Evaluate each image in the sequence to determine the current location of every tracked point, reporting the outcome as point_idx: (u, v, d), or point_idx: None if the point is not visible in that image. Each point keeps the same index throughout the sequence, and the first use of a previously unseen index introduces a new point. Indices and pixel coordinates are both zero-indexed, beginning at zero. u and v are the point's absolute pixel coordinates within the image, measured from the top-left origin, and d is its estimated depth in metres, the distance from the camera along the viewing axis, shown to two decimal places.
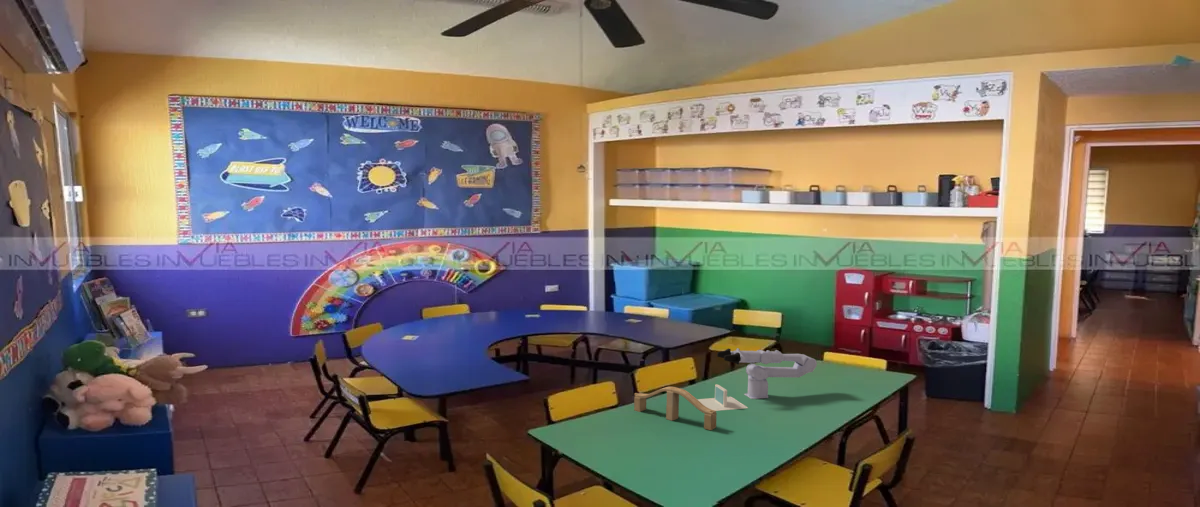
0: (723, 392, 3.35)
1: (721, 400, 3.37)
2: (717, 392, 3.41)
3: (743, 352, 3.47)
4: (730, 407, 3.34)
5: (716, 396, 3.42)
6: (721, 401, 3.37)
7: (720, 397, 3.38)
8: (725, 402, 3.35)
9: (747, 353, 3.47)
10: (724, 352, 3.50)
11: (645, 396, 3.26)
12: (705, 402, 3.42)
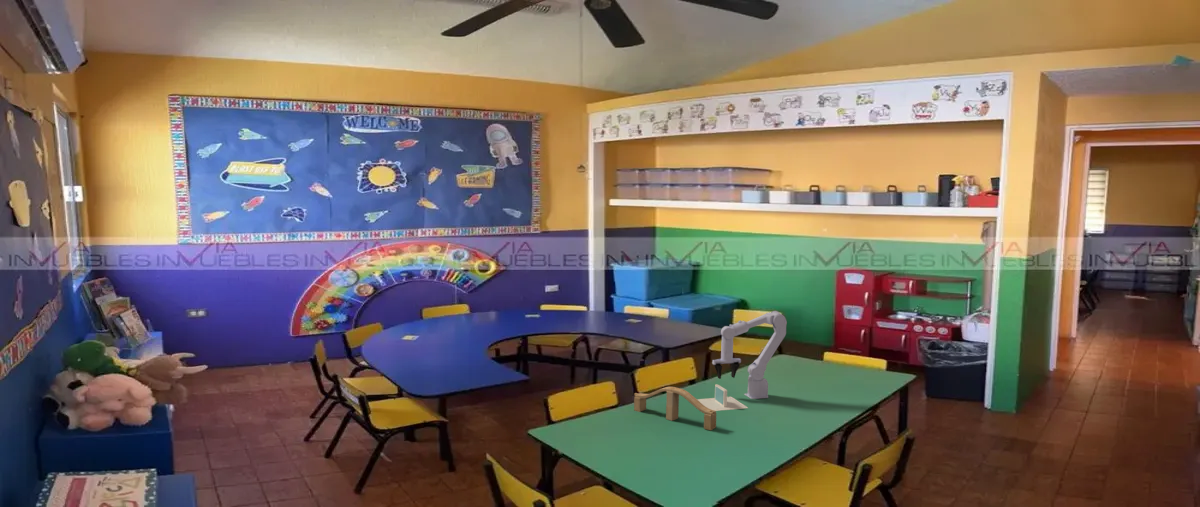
0: (723, 392, 3.35)
1: (721, 400, 3.37)
2: (717, 392, 3.41)
3: None
4: (730, 407, 3.34)
5: (716, 396, 3.42)
6: (721, 401, 3.37)
7: (720, 397, 3.38)
8: (725, 402, 3.35)
9: None
10: (732, 369, 3.53)
11: (645, 396, 3.26)
12: (705, 402, 3.42)
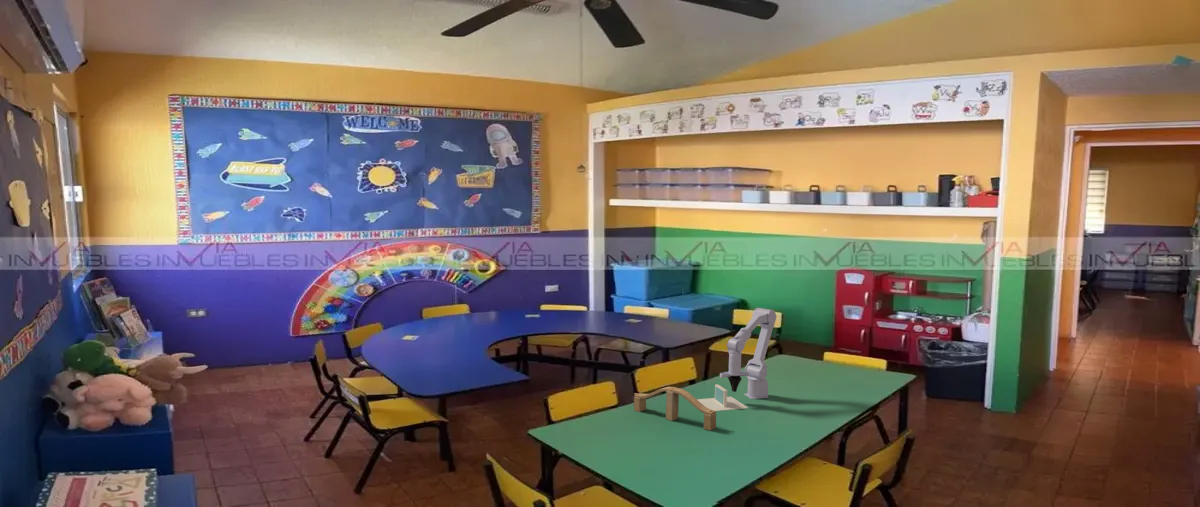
0: (723, 392, 3.35)
1: (721, 400, 3.37)
2: (717, 392, 3.41)
3: None
4: (730, 407, 3.34)
5: (716, 396, 3.42)
6: (721, 401, 3.37)
7: (720, 397, 3.38)
8: (725, 402, 3.35)
9: None
10: None
11: (645, 396, 3.26)
12: (705, 402, 3.42)
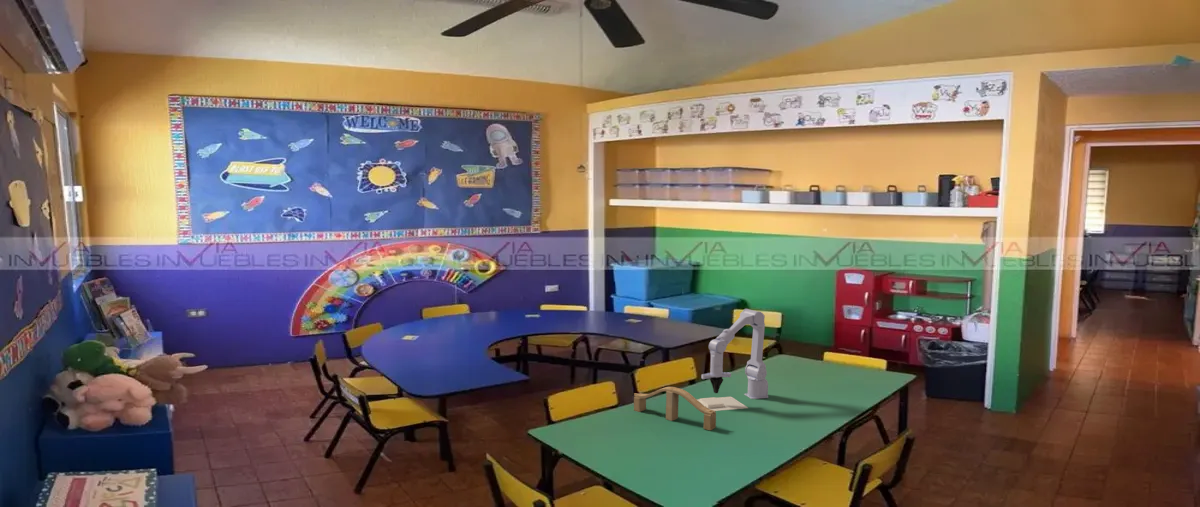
0: None
1: None
2: None
3: None
4: (730, 407, 3.34)
5: None
6: None
7: None
8: (719, 405, 3.34)
9: None
10: None
11: (645, 396, 3.25)
12: None
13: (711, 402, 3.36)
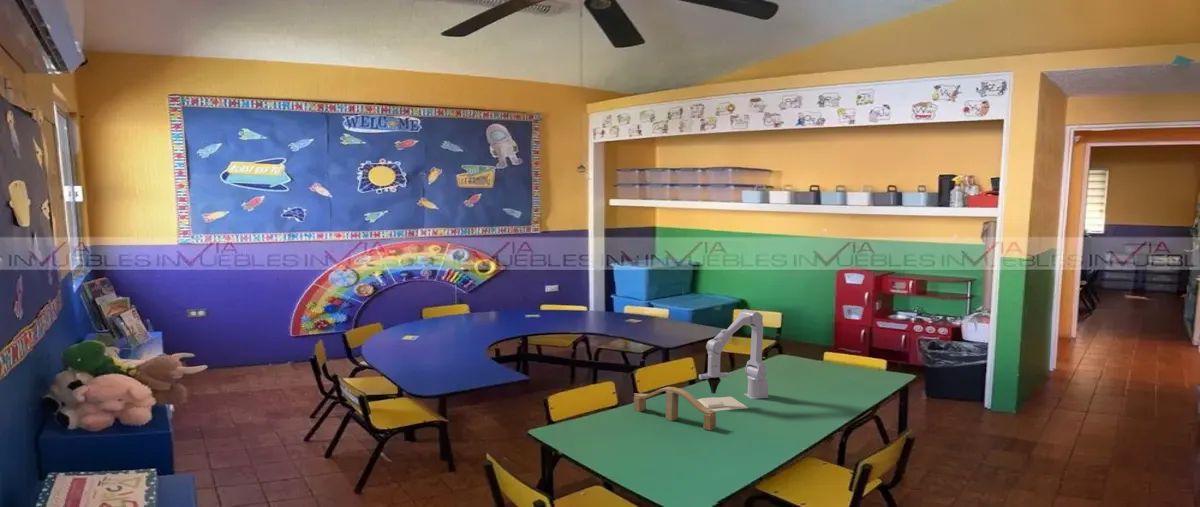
0: None
1: None
2: None
3: None
4: (730, 407, 3.34)
5: None
6: None
7: None
8: (719, 405, 3.34)
9: None
10: None
11: (645, 396, 3.25)
12: None
13: (711, 402, 3.36)
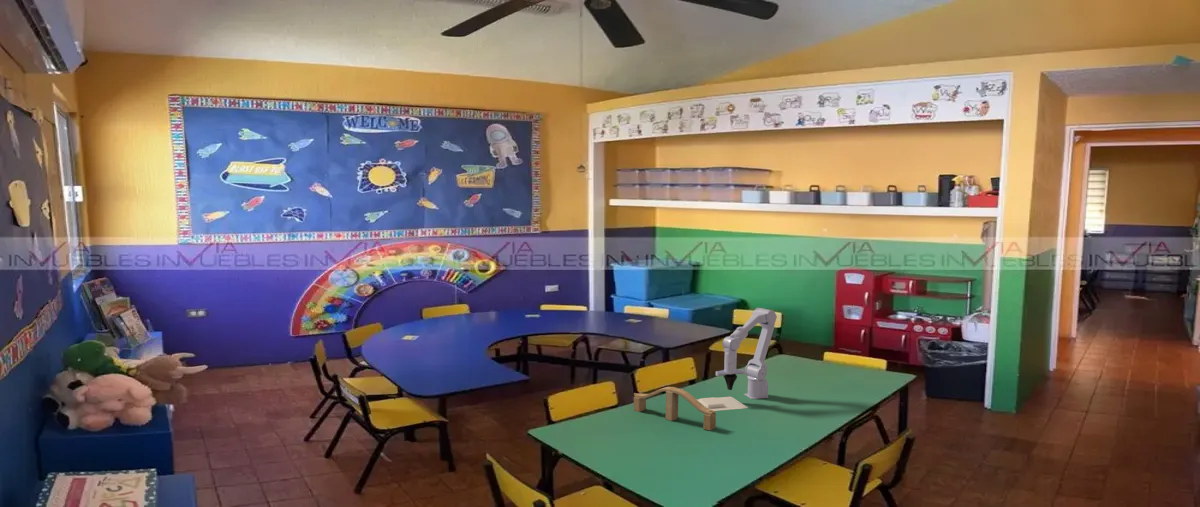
0: None
1: None
2: None
3: None
4: (730, 407, 3.34)
5: None
6: None
7: None
8: (719, 405, 3.34)
9: None
10: None
11: (644, 396, 3.25)
12: None
13: (711, 402, 3.36)
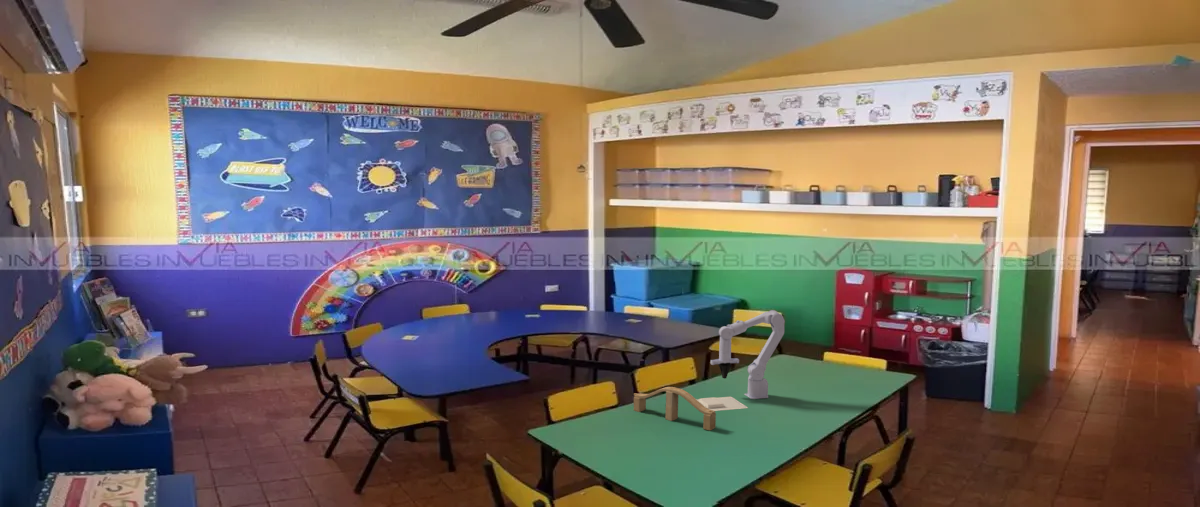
0: None
1: None
2: None
3: None
4: (730, 407, 3.34)
5: None
6: None
7: None
8: (719, 405, 3.34)
9: None
10: None
11: (644, 396, 3.25)
12: None
13: (711, 402, 3.36)
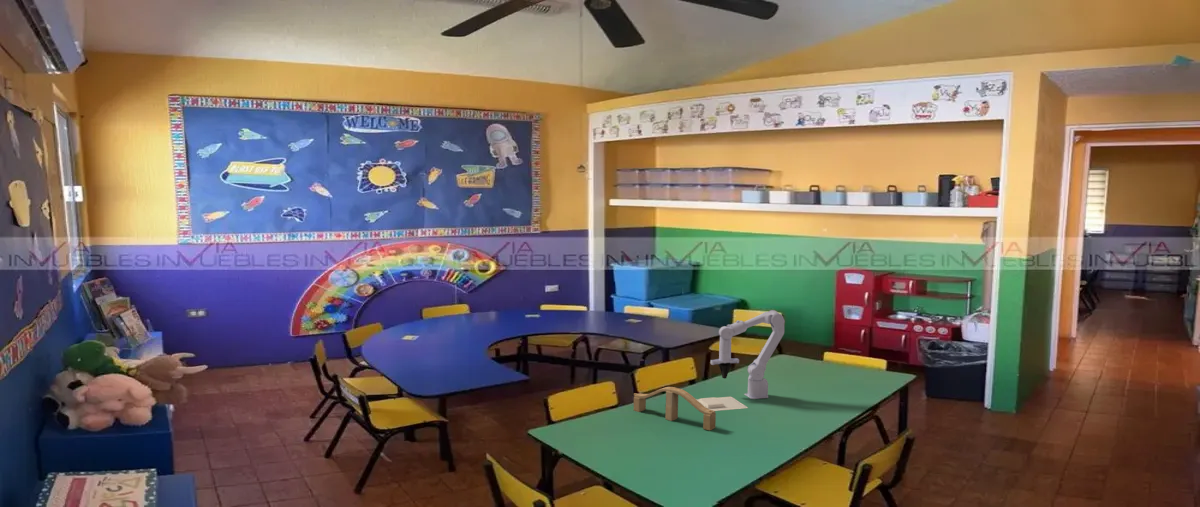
0: None
1: None
2: None
3: None
4: (730, 407, 3.34)
5: None
6: None
7: None
8: (719, 405, 3.34)
9: None
10: None
11: (644, 396, 3.25)
12: None
13: (711, 402, 3.36)
